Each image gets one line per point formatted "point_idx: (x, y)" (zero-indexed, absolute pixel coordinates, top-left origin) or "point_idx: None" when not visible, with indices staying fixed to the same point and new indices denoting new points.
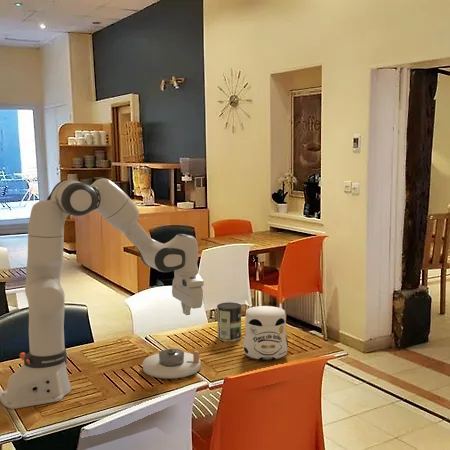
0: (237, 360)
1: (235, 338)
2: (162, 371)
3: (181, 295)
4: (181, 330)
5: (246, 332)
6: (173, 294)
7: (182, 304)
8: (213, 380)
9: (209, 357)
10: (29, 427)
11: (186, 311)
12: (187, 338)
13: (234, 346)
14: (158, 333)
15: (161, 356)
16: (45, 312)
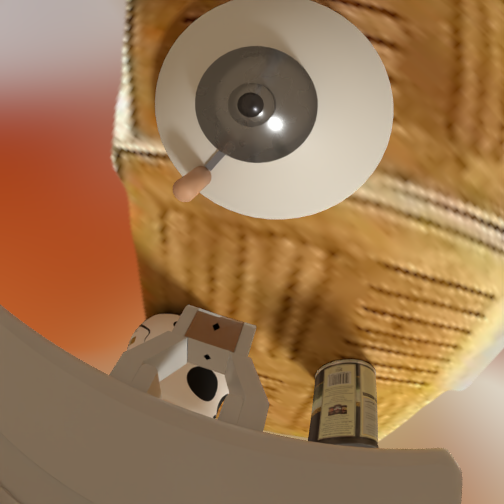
0: (203, 295)
1: (316, 376)
2: (201, 28)
3: (160, 486)
4: (478, 340)
5: (175, 371)
6: (429, 475)
7: (230, 394)
8: (120, 160)
9: (273, 265)
10: None
11: (175, 330)
12: (438, 320)
13: (290, 351)
14: None
15: (249, 46)
16: None
